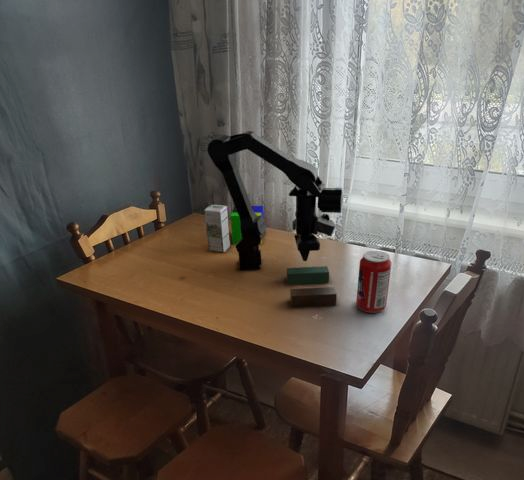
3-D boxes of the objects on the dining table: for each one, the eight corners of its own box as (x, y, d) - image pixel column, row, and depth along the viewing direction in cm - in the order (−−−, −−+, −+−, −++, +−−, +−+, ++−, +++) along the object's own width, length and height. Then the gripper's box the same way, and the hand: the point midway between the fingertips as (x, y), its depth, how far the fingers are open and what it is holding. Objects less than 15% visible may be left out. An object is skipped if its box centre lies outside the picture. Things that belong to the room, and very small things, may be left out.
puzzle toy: (264, 233, 177) (263, 206, 171) (261, 244, 168) (260, 216, 163) (236, 232, 178) (234, 205, 172) (232, 243, 169) (230, 216, 164)
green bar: (287, 284, 143) (287, 274, 141) (286, 278, 146) (286, 267, 145) (328, 282, 143) (329, 272, 141) (326, 276, 147) (327, 266, 145)
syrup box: (230, 246, 168) (227, 204, 160) (223, 253, 163) (220, 211, 155) (215, 244, 169) (211, 203, 161) (208, 251, 165) (203, 209, 157)
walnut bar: (291, 307, 132) (291, 296, 130) (290, 300, 136) (290, 288, 134) (335, 305, 132) (336, 293, 131) (333, 298, 136) (334, 286, 134)
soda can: (379, 318, 126) (385, 265, 118) (351, 310, 130) (355, 258, 122) (390, 304, 132) (396, 253, 124) (362, 297, 135) (367, 247, 127)
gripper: (339, 221, 133) (336, 273, 141) (329, 199, 148) (326, 247, 157) (298, 223, 133) (297, 275, 141) (292, 200, 148) (292, 248, 157)
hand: (305, 260), depth 149 cm, fingers closed
